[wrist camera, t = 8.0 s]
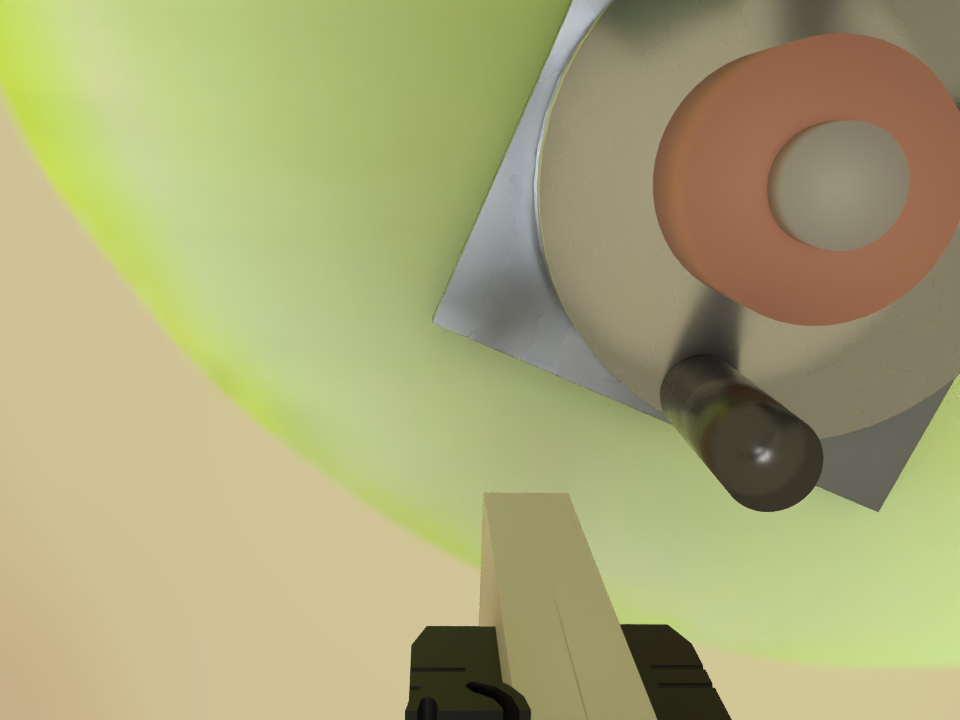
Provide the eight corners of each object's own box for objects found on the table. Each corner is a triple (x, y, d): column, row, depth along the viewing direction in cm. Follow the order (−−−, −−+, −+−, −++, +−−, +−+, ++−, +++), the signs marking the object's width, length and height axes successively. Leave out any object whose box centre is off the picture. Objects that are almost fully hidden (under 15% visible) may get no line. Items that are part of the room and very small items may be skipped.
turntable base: (662, -209, 25) (860, -526, 13) (1130, 39, 27) (1666, -44, 15) (432, 318, 28) (425, 443, 16) (867, 502, 30) (1140, 732, 18)
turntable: (673, -183, 24) (774, -325, 17) (1125, 54, 26) (1391, 18, 19) (451, 320, 27) (454, 385, 20) (871, 500, 29) (1015, 619, 22)
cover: (724, 4, 24) (786, -27, 20) (943, 114, 25) (1051, 108, 21) (610, 243, 25) (645, 263, 21) (822, 339, 26) (899, 378, 22)
